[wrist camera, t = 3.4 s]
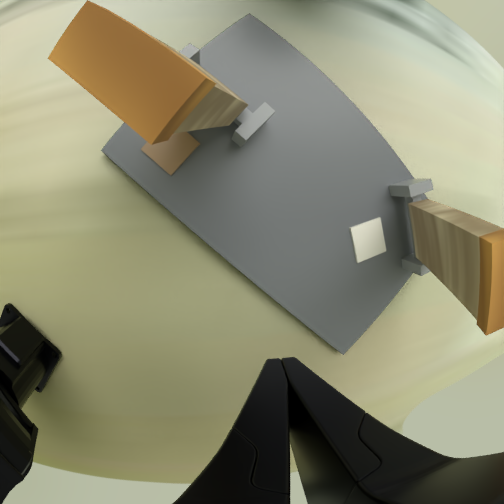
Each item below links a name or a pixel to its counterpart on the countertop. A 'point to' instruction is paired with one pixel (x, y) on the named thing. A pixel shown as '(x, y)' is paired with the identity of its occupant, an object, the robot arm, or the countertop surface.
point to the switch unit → (288, 186)
